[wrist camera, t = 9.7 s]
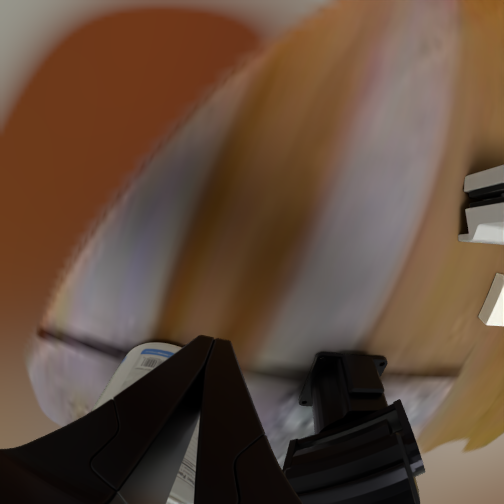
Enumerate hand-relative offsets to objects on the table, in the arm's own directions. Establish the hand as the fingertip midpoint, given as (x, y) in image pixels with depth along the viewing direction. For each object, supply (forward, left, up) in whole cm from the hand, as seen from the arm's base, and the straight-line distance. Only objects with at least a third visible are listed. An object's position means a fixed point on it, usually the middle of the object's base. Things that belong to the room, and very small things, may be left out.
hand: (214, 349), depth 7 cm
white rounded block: (+7, -23, -12) cm, 27 cm away
